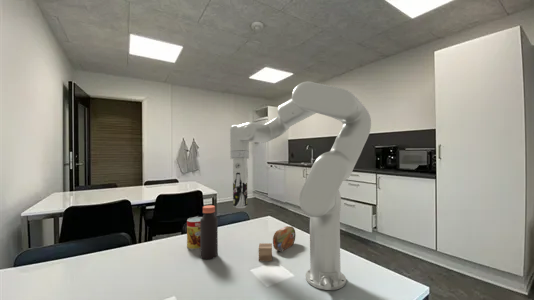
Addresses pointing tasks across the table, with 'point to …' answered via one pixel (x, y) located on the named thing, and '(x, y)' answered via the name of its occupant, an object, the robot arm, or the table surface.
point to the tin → (284, 238)
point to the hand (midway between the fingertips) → (240, 200)
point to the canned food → (193, 233)
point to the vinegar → (209, 233)
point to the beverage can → (240, 197)
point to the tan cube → (265, 252)
